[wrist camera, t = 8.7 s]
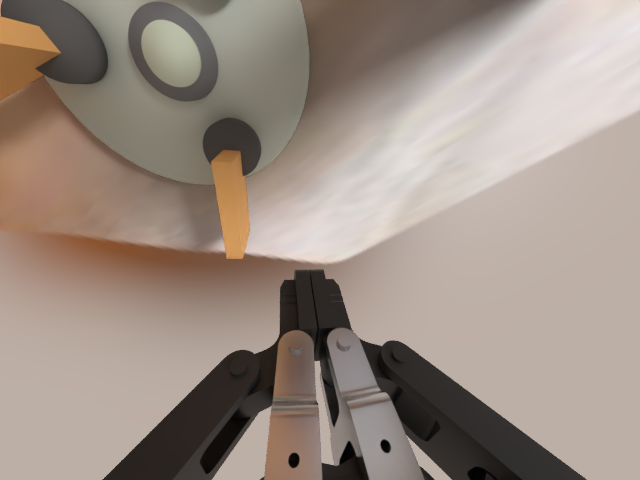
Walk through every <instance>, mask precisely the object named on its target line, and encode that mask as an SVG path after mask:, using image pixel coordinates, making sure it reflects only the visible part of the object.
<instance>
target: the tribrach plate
mask: <svg viewBox="0 0 640 480" xmlns="http://www.w3.org/2000/svg"><path fill="white" fill-rule="evenodd" d="M63 1H65V2H67V3H69V4H70V5H72V6H73V7H75V8H76V9H77V10H79V11H80V12H81V13H82V14H83V15H84V16H85V17H86V18H87V19H88V20H89V21H90V22H91V23H92V25H93V26H94V27H95V29H96V30H97V32H98V33H99V35H100V37H101V38H102V40H103V43H104V45H105V48H106V51H107V56H108V67H107V71H106V74H105V75H104V77H103V78H102V79H101V80H100V81H98V82H96V83H93V84H67V83H62V82H59V81H56V80H53V79H51V78H49V77H47V76H45V75H43V76H44V77H45V79H46V80H47V82H48V84H49V85H50V86H51V88H52V89H53V90H54V91H55V93H56V94H57V95H58V97H59V98H60V99H61V101H62V102H63V103H64V104H65V106H66V107H67V108H68V109H69V110H70V111H71V112H72V113H73V115H74V116H75V117H76V118H77V119H78V120H79V121H80V122H81V123H82V124H83V125H84V126H85V127H86V128H87V129H88V130H89V131H90V132H91V133H93V134H94V135H95V136H96V137H97V138H98V139H100V140H101V141H102V142H103V143H105V144H106V145H107V146H108V147H110V148H111V149H112V150H114V151H115V152H117V153H118V154H120V155H121V156H123V157H124V158H126V159H127V160H129V161H131V162H133V163H134V164H136V165H138V166H140V167H142V168H143V169H146V170H148V171H150V172H153V173H155V174H157V175H160V176H163V177H166V178H169V179H172V180H176V181H180V182H185V183H191V184H200V185H215V183H214V176H213V170H212V165H211V164H210V163H209V162H208V160H207V158H206V156H205V154H204V151H203V137H204V134H205V132H206V130H207V129H208V127H209V126H210V125H212V124H213V123H215V122H217V121H219V120H221V119H225V118H234V119H238V120H241V121H243V122H245V123H247V124H248V125H249V126H250V127H251V128H252V129H253V130H254V131H255V132H256V134H257V136H258V138H259V140H260V143H261V156H260V160H259V162H258V164H257V166H256V168H255V169H254V170H253V171H252V172H251V173H249V174H248V175H246V176H245V177H248V176H251V175H253V174H255V173H257V172H258V171H260V170H261V169H263V168H265V167H266V166H267V165H268V164H269V163H271V162H272V161H273V160H274V159H275V158H276V157H277V156H278V155H279V154H280V153H281V152H282V151H283V149H284V148H285V147H286V145H287V144H288V142H289V141H290V139H291V138H292V136H293V134H294V132H295V130H296V128H297V126H298V124H299V121H300V118H301V115H302V112H303V109H304V105H305V101H306V96H307V91H308V82H309V45H308V35H307V28H306V23H305V18H304V13H303V8H302V5H301V2H300V0H63Z"/></svg>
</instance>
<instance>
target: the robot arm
mask: <svg viewBox="0 0 640 480" xmlns="http://www.w3.org/2000/svg"><path fill="white" fill-rule="evenodd" d="M314 361H320V366H321V373H320V381H321V386H322V391H323V396H324V401H325V406H326V410H327V416H328V420H329V425H330V433H331V448H332V455H333V460H334V465H329V464H324V463H322V462H321V443H320V426H319V425H320V423H319V408H318V403H317V401H316V388H315V365H314ZM270 406H272V407H271V416H270V425H269V435H268V445H267V455H266V465H265V476H264V477H263V478H261V479H260V480H434V479H433V478H432V477H431V476H430V475H429V474H428V473H427V472H426V471H425V470H424V469H423V468H422V467H420V466H419V465H418V462H417V460H416V458H415V455H414V453H413V450H412V448H411V445H410V443H409V441H408V438H407V436H408V437H409V438H410V439H411V440H412V441H413V442H414V443H415V444H416V445H417V446H418V447H419V448H420V449H421V450H422V451H423V452H425V454H427V455H428V456H429V457H430V458H431V459H432V460H433V461H434V462H435V463H436V464H437V465H438V466H439V467H440V468H441V469H442V470H443V471H444V472H445V473H446V474H447V475H448V476H449V477H450V478H451V479H452V480H586V479H585V478H584V477H582V476H581V475H580V474H578V473H577V472H576V471H574V470H573V469H571V468H570V467H569V466H568V465H566V464H565V463H564V462H562V461H561V460H560V459H558V458H557V457H556V456H554V455H553V454H552V453H550V452H549V451H547V450H546V449H545V448H543V447H542V446H541V445H539V444H538V443H537V442H535V441H534V440H533V439H531V438H530V437H529V436H527V435H526V434H525V433H523V432H522V431H521V430H519V429H518V428H517V427H515V426H514V425H513V424H511V423H510V422H509V421H507V420H506V419H505V418H503V417H502V416H501V415H499V414H498V413H496V412H495V411H494V410H492V409H491V408H490V407H488V406H487V405H486V404H484V403H483V402H482V401H480V400H479V399H478V398H476V397H475V396H474V395H472V394H471V393H470V392H468V391H467V390H465V389H464V388H463V387H462V386H460V385H459V384H458V383H456V382H455V381H453V380H452V379H451V378H449V377H448V376H447V375H445V374H444V373H443V372H441V371H440V370H439V369H437V368H436V367H435V366H433V365H432V364H431V363H429V362H428V361H427V360H425V359H424V358H423V357H421V356H419V354H417V353H416V352H415V351H413V350H412V349H411V348H409V347H408V346H406V345H405V344H403V343H401V342H399V341H388V342H386V343H385V344H384V345H383V346H379V345H375V344H371V343H368V342H365V341H363V340H361V339H360V338H358V336H357V335H356V334H355V333H354V332H353V330H352V329H351V326H350V322H349V319H348V315H347V312H346V308H345V305H344V302H343V298H342V296H341V291H340V288H339V285H338V284H337V283H336V282H335V281H334V280H333V279H325V274H324V270H323V269H321V270H320V269H318V270H295V271H294V280H284V282H283V284H282V285H281V287H280V335H279V337H278V339H277V341H276V342H275V344H274V345H273V346H271V347H270V348H268V349H266V350H264V351H262V352H259V353H256V354H254V353H252V352H250V351H247V350H239V351H235V352H233V353H231V354H229V355H228V356H227V357H225V358H224V359H223V360H222V361H221V362H220V363H219V364H218V365H217V366H216V367H215V368H214V369H213V370H212V371H211V372H210V373H209V374H208V375H207V376H206V377H205V378H204V379H203V380H202V381H201V382H200V383H199V384H198V385H197V386H196V387H195V388H194V389H193V390H192V391H191V392H190V393H189V394H188V395H187V396H186V397H185V398H184V399H183V400H182V401H181V402H180V403H179V404H178V405H177V406H176V407H175V408H174V409H173V410H172V411H171V412H170V413H169V414H168V415H167V416H166V417H165V418H164V419H163V420H162V421H161V422H160V423H159V424H158V425H157V426H156V427H155V428H154V429H153V430H152V431H151V432H150V433H149V434H148V435H147V436H146V437H145V438H144V439H143V440H142V441H141V442H140V443H139V444H138V445H137V446H136V447H135V448H134V449H133V450H132V451H131V452H130V453H129V454H128V455H127V456H126V457H125V458H124V459H123V460H122V461H121V462H120V463H119V464H118V465H117V466H116V467H115V468H114V469H113V470H112V471H111V472H110V473H109V474H108V475H107V476H106V477H105V478H104V479H103V480H212V478H213V477H214V476H215V474H216V473H217V471H218V470H219V468H220V467H221V466H222V464H223V463H224V461H225V460H226V458H227V457H228V455H229V454H230V452H231V451H232V450H233V449H234V447H235V446H236V444H237V443H238V441H239V440H240V439H241V437H242V436H243V434H244V433H245V431H246V430H247V428H248V427H249V426H250V424H251V423H252V421H253V420H254V419H255V417H256V416H257V414H258V413H259V412H260V411H262V410H264V409H266V408H268V407H270ZM406 435H407V436H406Z"/></svg>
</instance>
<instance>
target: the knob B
mask: <svg viewBox="0 0 640 480" xmlns="http://www.w3.org/2000/svg"><path fill="white" fill-rule="evenodd" d="M203 151H204V154H205V156H206V158H207V160H208V162H209V163H210V164H211V165H212V170H213V176H214V183H215V189H216V195H217V201H218V207H219V214H220V220H221V226H222V232H223V238H224V245H225V251H226V257H227V259H242V258H243V255H244V251H245V247H246V243H247V240H248V236H249V232H250V224H249V213H248V201H247V189H246V177H245V176H246V175H248V174H249V173H251V172H252V171H253V170H254V169H255V168H256V166H257V164H258V162H259V160H260V156H261V143H260V140H259V138H258V136H257V134H256V132H255V131H254V130H253V129H252V128H251V127H250V126H249V125H248V124H247V123H245V122H243V121H241V120H238V119H234V118H225V119H221V120H219V121H217V122H215V123H213V124H212V125H210V126H209V127H208V129H207V130H206V132H205V134H204V137H203Z"/></svg>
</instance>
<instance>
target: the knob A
mask: <svg viewBox="0 0 640 480" xmlns="http://www.w3.org/2000/svg"><path fill="white" fill-rule="evenodd" d="M107 67H108V56H107V51H106V48H105V45H104V43H103V40H102V38H101V37H100V35H99V33H98V32H97V30H96V29H95V27H94V26H93V25H92V23H91V22H90V21H89V20H88V19H87V18H86V17H85V16H84V15H83V14H82V13H81V12H80V11H79V10H77V9H76V8H75V7H73V6H72V5H70V4H69V3H67V2H65V1H63V0H3V1H2V4H1V16H0V100H2V99H3V98H5V97H7V96H9V95H10V94H12V93H14V92H15V91H17V90H19V89H21V88H22V87H24V86H26V85H28V84H29V83H31V82H33V81H34V80H36V79H38V78H40V77H41V76H43V75H45V76H47V77H49V78H51V79H53V80H56V81H59V82H62V83H67V84H93V83H96V82H98V81H100V80H101V79H102V78H103V77H104V75H105V74H106V71H107Z"/></svg>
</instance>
